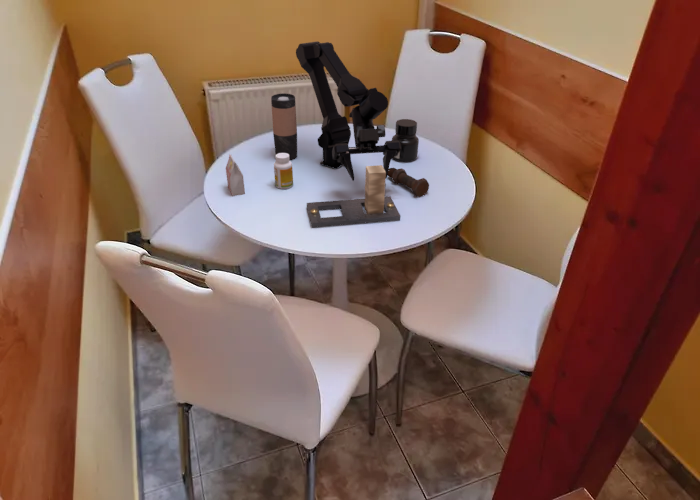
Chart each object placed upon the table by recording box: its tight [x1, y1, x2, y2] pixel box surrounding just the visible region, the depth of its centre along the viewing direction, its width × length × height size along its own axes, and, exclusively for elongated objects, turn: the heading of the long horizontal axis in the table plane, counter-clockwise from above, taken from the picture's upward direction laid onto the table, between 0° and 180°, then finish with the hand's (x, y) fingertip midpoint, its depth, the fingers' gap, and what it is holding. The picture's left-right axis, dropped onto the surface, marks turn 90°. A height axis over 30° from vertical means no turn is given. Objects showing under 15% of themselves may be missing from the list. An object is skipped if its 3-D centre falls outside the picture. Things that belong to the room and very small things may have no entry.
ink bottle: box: [391, 118, 420, 163], centre depth 175 cm, size 10×9×12 cm
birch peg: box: [363, 164, 387, 214], centre depth 144 cm, size 4×4×13 cm
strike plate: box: [306, 195, 401, 229], centre depth 146 cm, size 24×11×2 cm, turn 101°
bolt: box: [387, 167, 430, 198], centre depth 160 cm, size 6×5×15 cm
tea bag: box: [225, 154, 246, 197], centre depth 155 cm, size 4×7×10 cm, turn 22°
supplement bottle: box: [273, 153, 294, 190], centre depth 158 cm, size 5×5×10 cm
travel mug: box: [271, 92, 298, 162], centre depth 172 cm, size 8×8×20 cm
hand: (369, 179), depth 148 cm, fingers open, 9 cm apart
